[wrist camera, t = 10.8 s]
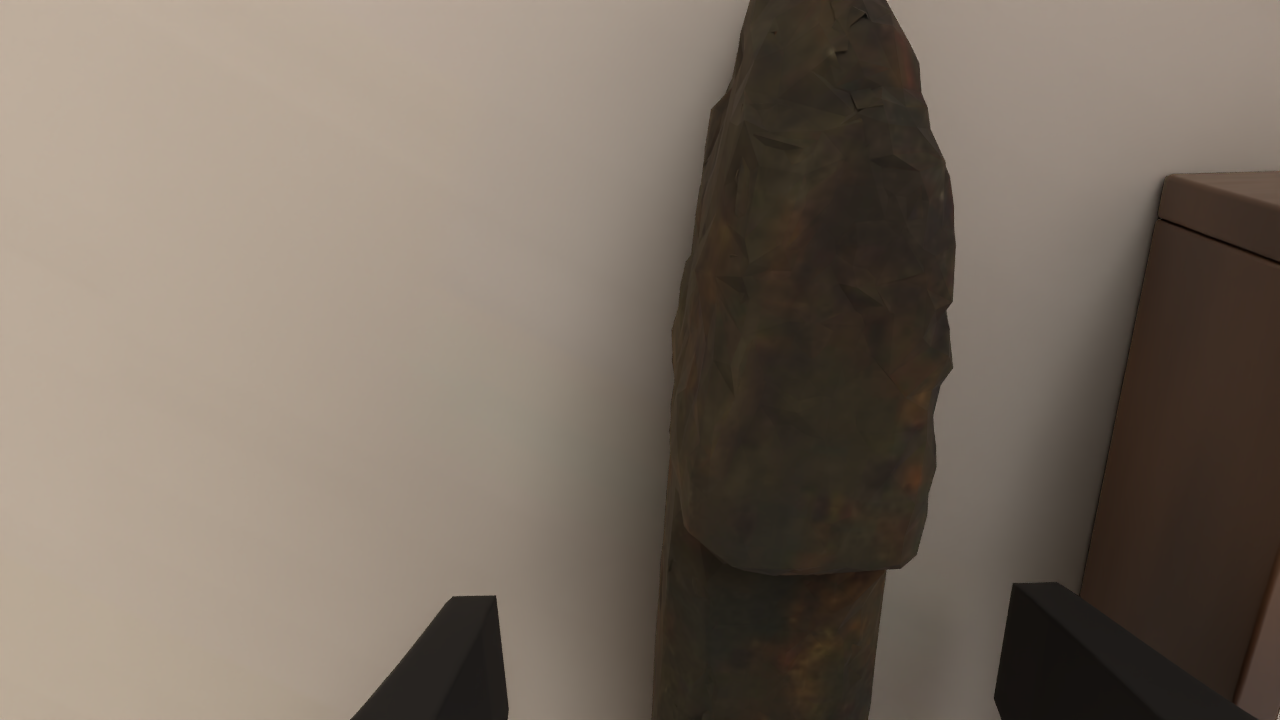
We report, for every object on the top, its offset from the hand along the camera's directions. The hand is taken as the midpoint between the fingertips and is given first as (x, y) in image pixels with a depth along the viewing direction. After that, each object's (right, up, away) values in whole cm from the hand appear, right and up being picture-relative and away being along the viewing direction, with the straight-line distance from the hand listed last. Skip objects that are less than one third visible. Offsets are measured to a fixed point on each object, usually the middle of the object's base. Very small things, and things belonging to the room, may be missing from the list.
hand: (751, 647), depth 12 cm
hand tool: (0, 0, +2) cm, 2 cm away
